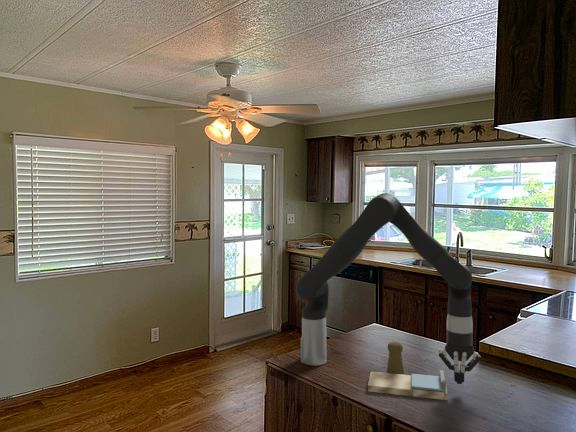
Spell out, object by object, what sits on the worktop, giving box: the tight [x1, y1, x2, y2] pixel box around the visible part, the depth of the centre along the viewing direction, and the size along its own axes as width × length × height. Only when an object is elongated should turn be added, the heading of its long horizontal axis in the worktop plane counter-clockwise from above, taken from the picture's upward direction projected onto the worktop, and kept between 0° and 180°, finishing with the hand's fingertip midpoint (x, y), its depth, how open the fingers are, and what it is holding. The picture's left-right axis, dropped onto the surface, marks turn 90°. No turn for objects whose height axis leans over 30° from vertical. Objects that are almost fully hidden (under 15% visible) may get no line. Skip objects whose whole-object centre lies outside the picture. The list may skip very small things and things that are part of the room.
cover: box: [411, 369, 447, 392], centre depth 135 cm, size 10×10×3 cm
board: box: [367, 371, 449, 401], centre depth 137 cm, size 24×11×2 cm, turn 74°
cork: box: [386, 341, 405, 375], centre depth 148 cm, size 6×6×11 cm
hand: (459, 382), depth 132 cm, fingers closed
